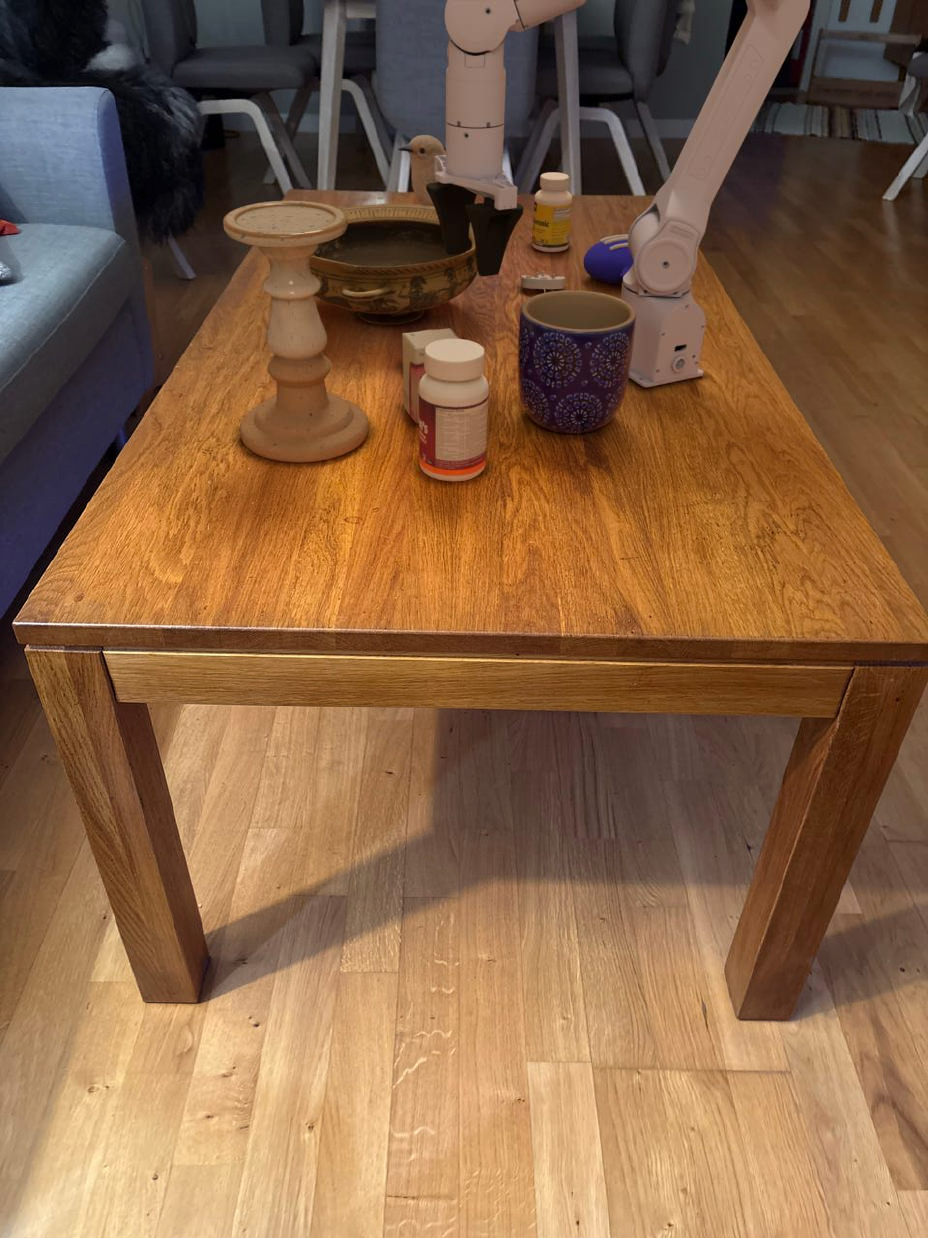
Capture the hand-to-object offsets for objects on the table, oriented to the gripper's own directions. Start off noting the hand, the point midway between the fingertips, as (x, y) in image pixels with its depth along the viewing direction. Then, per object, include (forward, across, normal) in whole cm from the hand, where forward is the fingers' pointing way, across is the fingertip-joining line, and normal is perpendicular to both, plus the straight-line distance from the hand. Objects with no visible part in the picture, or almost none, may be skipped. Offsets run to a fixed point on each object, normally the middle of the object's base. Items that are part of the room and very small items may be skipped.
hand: (471, 263), depth 103 cm
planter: (+11, +18, +2) cm, 21 cm away
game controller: (+11, -13, +17) cm, 24 cm away
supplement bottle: (+11, -31, +29) cm, 44 cm away
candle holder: (+11, +10, -23) cm, 27 cm away
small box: (+11, +11, -10) cm, 18 cm away
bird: (+11, -37, +15) cm, 41 cm away
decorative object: (+11, -14, +30) cm, 35 cm away
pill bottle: (+11, +22, -13) cm, 28 cm away
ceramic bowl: (+11, -16, -3) cm, 19 cm away
